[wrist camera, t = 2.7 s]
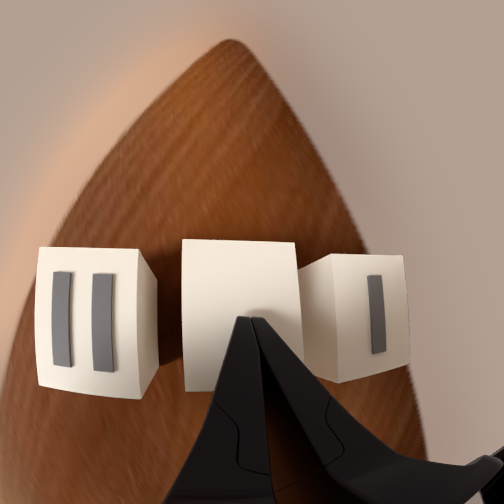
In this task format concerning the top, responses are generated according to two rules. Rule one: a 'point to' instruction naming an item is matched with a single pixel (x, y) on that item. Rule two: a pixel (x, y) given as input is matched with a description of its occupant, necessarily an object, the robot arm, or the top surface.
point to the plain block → (234, 300)
